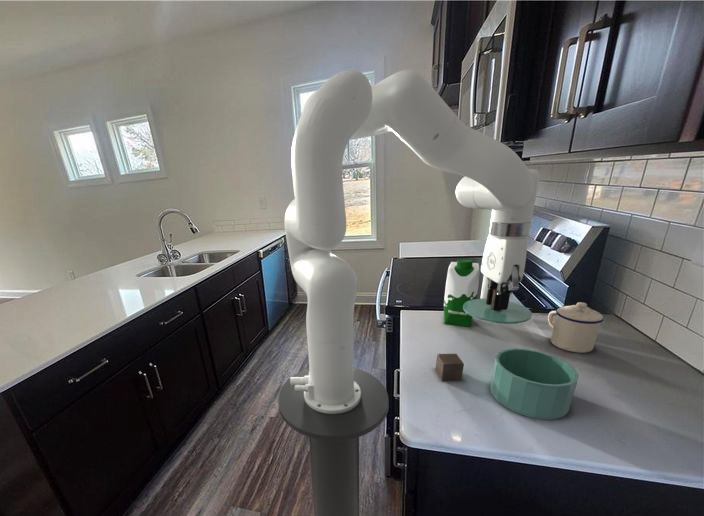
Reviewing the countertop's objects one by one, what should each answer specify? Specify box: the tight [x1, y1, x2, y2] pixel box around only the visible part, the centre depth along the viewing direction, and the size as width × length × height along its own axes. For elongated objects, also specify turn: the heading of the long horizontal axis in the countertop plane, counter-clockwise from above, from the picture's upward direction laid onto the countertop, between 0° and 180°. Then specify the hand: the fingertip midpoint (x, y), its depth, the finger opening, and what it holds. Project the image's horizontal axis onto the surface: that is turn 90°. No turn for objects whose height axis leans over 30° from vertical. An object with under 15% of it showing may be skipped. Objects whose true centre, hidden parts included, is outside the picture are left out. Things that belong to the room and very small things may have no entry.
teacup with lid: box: [547, 301, 604, 354], centre depth 81 cm, size 12×9×12 cm
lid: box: [463, 288, 533, 325], centre depth 76 cm, size 14×14×6 cm
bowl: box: [490, 348, 580, 421], centre depth 64 cm, size 13×13×8 cm
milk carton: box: [443, 258, 481, 328], centre depth 96 cm, size 9×9×20 cm
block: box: [435, 353, 465, 382], centre depth 73 cm, size 4×4×4 cm
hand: (496, 306), depth 76 cm, fingers closed on lid, 2 cm apart
